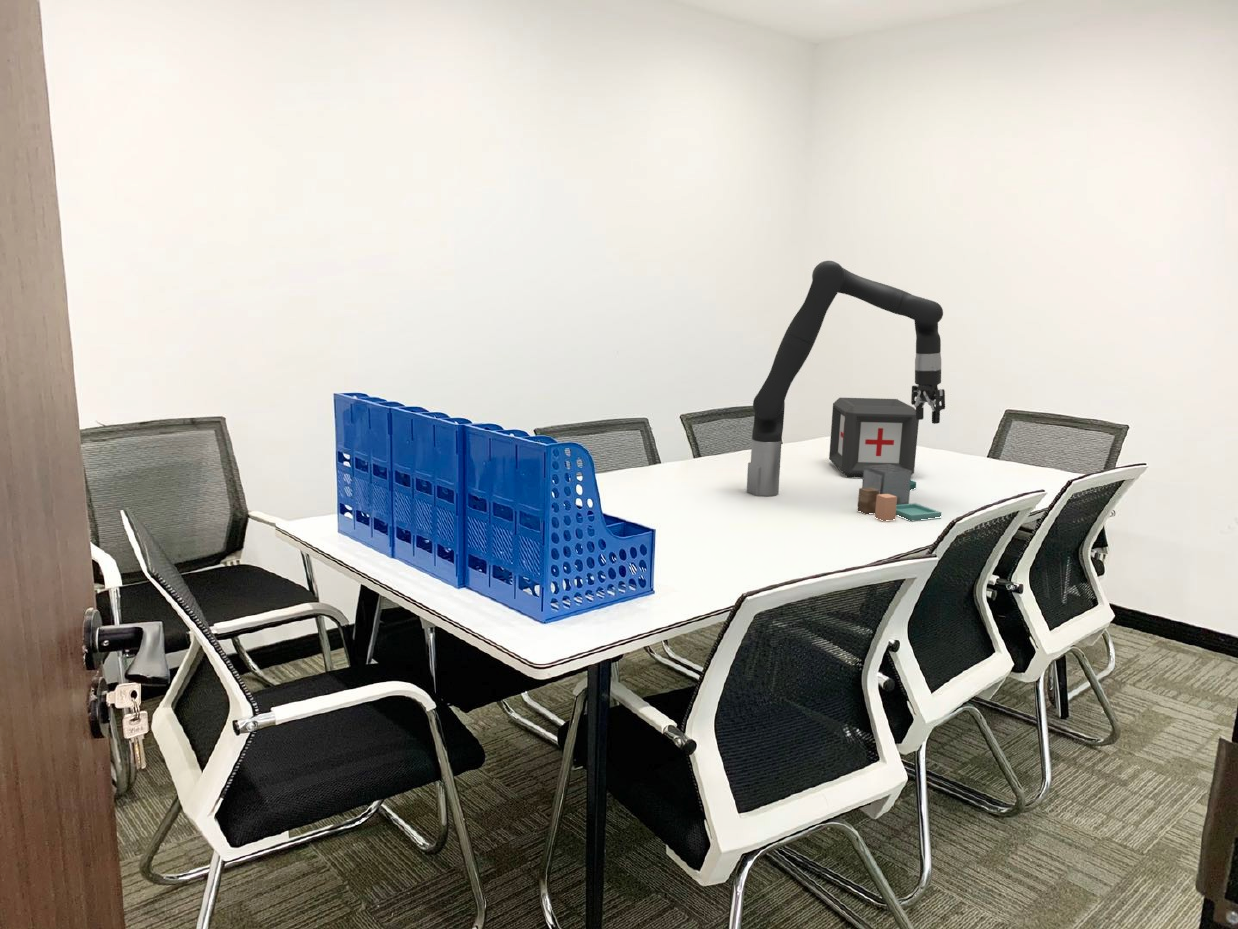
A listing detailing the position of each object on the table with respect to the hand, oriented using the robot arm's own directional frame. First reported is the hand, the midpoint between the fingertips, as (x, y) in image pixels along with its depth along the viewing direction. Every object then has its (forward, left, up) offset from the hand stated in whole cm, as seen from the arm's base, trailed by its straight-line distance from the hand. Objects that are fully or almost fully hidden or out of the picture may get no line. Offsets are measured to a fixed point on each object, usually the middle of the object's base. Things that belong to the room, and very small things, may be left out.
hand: (927, 421), depth 275 cm
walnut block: (-23, -4, -26) cm, 35 cm away
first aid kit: (+14, +42, -26) cm, 51 cm away
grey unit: (-11, +3, -26) cm, 28 cm away
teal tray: (-12, -11, -26) cm, 30 cm away
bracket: (+4, +16, -26) cm, 31 cm away
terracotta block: (-23, -12, -26) cm, 37 cm away
